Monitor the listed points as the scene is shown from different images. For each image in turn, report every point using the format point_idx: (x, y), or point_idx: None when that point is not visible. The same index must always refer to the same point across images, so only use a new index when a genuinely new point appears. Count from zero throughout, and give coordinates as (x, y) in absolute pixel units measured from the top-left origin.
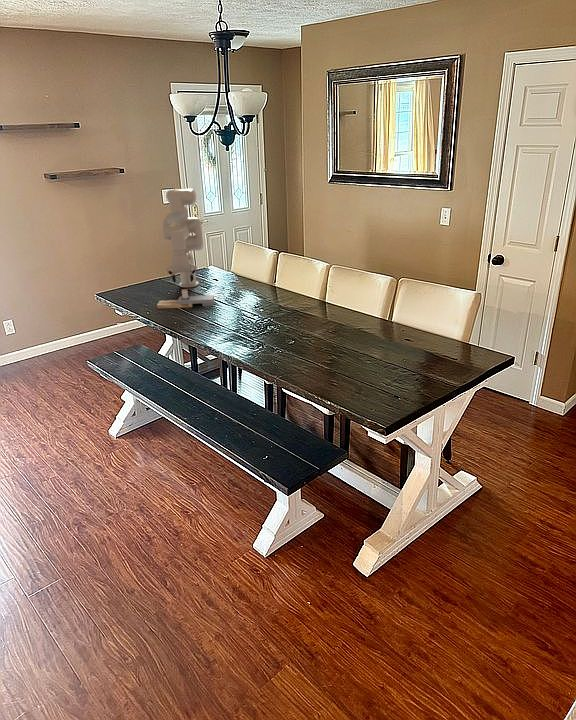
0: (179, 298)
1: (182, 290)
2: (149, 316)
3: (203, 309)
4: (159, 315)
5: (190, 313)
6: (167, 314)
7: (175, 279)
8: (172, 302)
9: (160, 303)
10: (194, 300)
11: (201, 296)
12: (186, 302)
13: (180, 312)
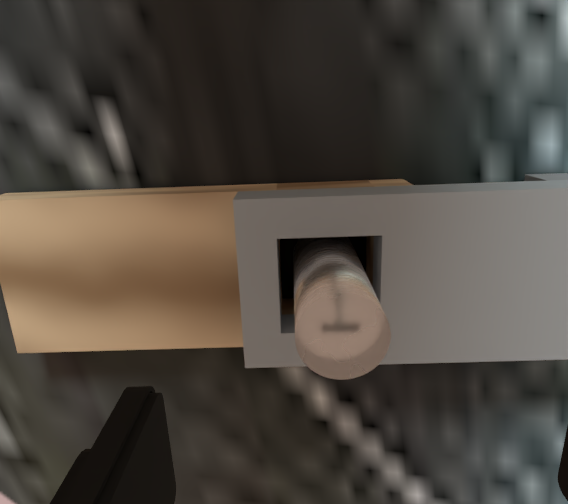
0: (249, 278)
1: (312, 353)
2: (45, 501)
3: (513, 389)
4: None
5: (395, 471)
6: (190, 474)
7: (151, 453)
8: (168, 279)
9: (34, 298)
10: (452, 360)
11: (543, 227)
12: None
13: (299, 440)
